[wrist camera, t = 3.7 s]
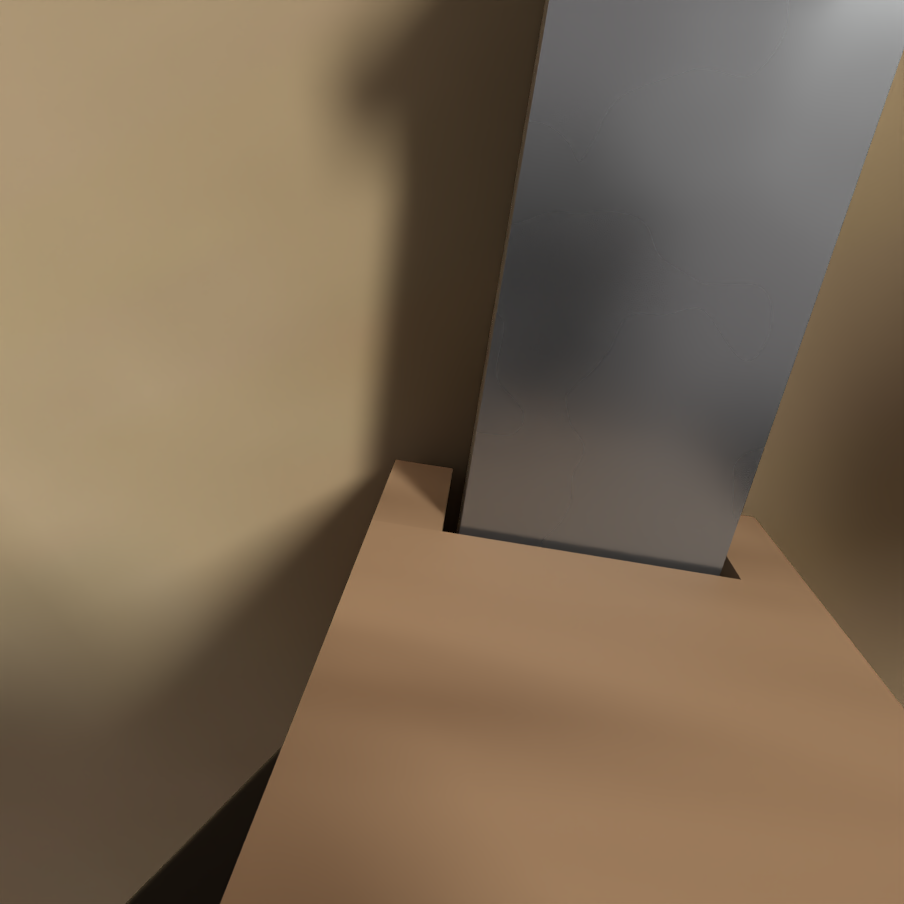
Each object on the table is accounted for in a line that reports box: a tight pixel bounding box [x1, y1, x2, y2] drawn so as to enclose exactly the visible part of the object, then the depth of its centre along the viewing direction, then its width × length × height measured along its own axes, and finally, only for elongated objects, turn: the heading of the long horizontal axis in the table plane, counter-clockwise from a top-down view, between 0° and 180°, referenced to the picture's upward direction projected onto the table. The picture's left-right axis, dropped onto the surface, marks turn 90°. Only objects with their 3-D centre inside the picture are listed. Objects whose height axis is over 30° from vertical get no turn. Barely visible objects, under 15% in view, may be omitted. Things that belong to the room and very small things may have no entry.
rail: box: [456, 0, 904, 576], centre depth 8 cm, size 15×3×3 cm, turn 172°
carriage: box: [220, 460, 904, 904], centre depth 7 cm, size 6×5×6 cm
